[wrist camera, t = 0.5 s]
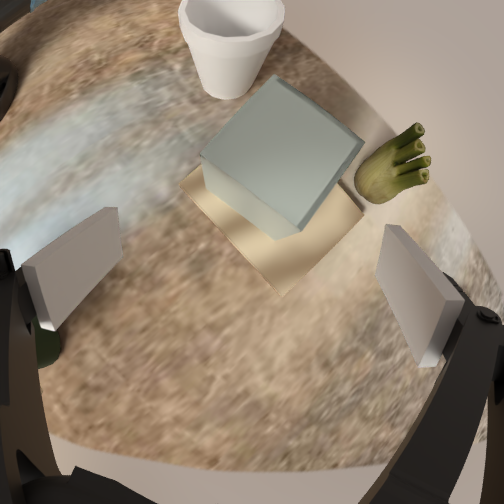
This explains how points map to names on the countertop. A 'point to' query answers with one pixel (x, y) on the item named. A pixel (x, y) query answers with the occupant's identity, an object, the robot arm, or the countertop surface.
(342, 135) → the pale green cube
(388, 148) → the fennel bulb
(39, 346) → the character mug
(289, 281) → the board
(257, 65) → the foam cup
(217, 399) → the countertop surface
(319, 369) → the countertop surface
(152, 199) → the countertop surface
